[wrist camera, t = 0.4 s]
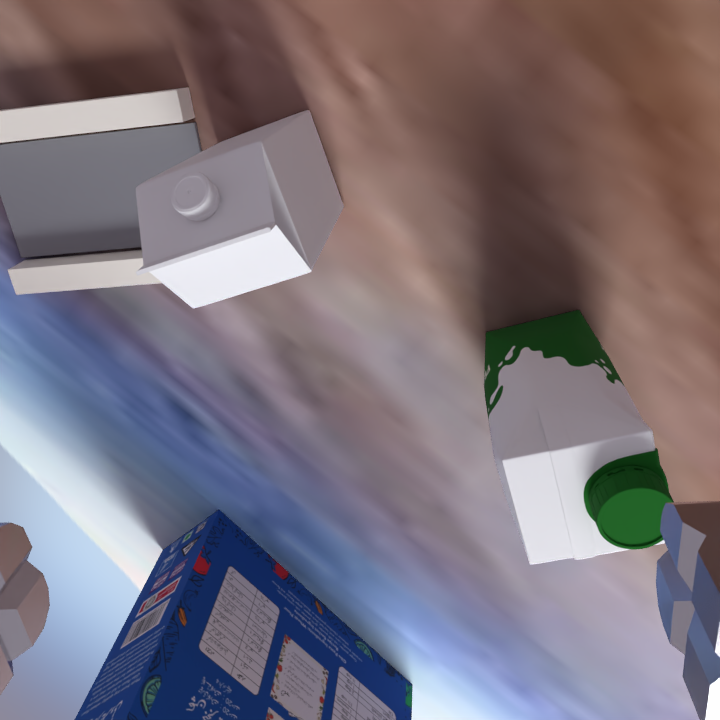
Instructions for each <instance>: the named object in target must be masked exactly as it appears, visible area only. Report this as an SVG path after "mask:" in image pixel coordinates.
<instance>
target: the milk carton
mask: <svg viewBox="0 0 720 720" xmlns="http://www.w3.org/2000/svg"><path fill="white" fill-rule="evenodd" d="M136 198H137V208H138V218H139V227H140V237H141V246H142V256H143V265H144V266H142V267H141V268H140V269H139V270H138V271H136V274H137V275H141V274H144V273H147V272H150V273H151V274H152V275H154V276H155V277H156V278H157V279H158V280H160V281H161V282H162V283H163V284H164V285H166V286H167V287H168V288H169V289H170V290H172V291H173V292H174V293H175V294H176V295H178V296H179V297H180V298H181V299H182V300H183V301H185V302H186V303H187V304H188V305H189V306H191V307H192V308H197V307H201V306H204V305H207V304H211V303H214V302H217V301H220V300H224V299H227V298H230V297H233V296H236V295H240V294H243V293H246V292H249V291H252V290H256V289H259V288H262V287H265V286H268V285H272V284H275V283H278V282H281V281H284V280H288V279H291V278H294V277H297V276H300V275H303V274H306V273H309V272H311V271H312V269H313V267H314V265H315V263H316V261H317V259H318V257H319V255H320V253H321V251H322V249H323V247H324V245H325V243H326V241H327V239H328V237H329V235H330V233H331V231H332V229H333V227H334V225H335V223H336V221H337V219H338V217H339V215H340V213H341V211H342V210H343V208H344V205H343V202H342V200H341V197H340V194H339V191H338V188H337V186H336V183H335V180H334V177H333V174H332V172H331V169H330V166H329V163H328V160H327V158H326V155H325V152H324V149H323V146H322V144H321V141H320V138H319V135H318V132H317V130H316V127H315V124H314V121H313V118H312V116H311V113H310V111H309V110H306V111H303V112H300V113H297V114H294V115H292V116H289V117H286V118H283V119H281V120H278V121H275V122H273V123H270V124H267V125H265V126H262V127H259V128H256V129H254V130H251V131H248V132H246V133H243V134H240V135H238V136H235V137H232V138H230V139H227V140H224V141H222V142H220V143H217V144H216V145H214V146H212V147H210V148H208V149H206V150H204V151H202V152H200V153H198V154H196V155H194V156H193V157H191V158H189V159H187V160H185V161H183V162H181V163H179V164H177V165H175V166H173V167H171V168H169V169H168V170H166V171H164V172H162V173H160V174H158V175H156V176H154V177H152V178H150V179H148V180H147V181H145V182H143V183H141V184H140V185H138V186H137V187H136Z"/></svg>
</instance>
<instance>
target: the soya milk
mask: <svg viewBox="0 0 720 720" xmlns="http://www.w3.org/2000/svg"><path fill="white" fill-rule="evenodd" d="M484 389H485V398H486V406H487V413H488V420H489V427H490V433H491V440H492V447H493V454H494V459H495V463H496V466H497V469H498V473H499V476H500V479H501V483H502V486H503V490H504V494H505V497H506V499H507V502H508V505H509V508H510V510H511V513H512V516H513V519H514V521H515V524H516V527H517V530H518V532H519V535H520V538H521V541H522V544H523V546H524V549H525V552H526V555H527V557H528V560H529V563H530V565H532V564H538V563H544V562H550V561H556V560H562V559H568V558H574V559H575V560H579V559H585V558H591V557H594V556H596V555H602V554H607V553H613V552H619V551H624V550H630V549H643V548H647V547H650V546H653V545H658V544H663V543H665V541H664V539H663V537H662V535H661V532H660V525H661V516H662V511H663V509H664V506H665V503H674V502H673V500H672V498H671V496H670V493H669V489H668V483H667V479H666V476H665V474H664V471H663V469H662V467H661V466H660V462H659V456H658V450H657V448H655V445H654V438H653V431H652V429H651V428H650V427H649V426H648V425H647V424H646V423H645V422H644V421H643V419H642V418H641V416H640V414H639V412H638V410H637V408H636V407H635V405H634V403H633V401H632V399H631V397H630V395H629V394H628V392H627V390H626V388H625V386H624V384H623V383H622V381H621V379H620V377H619V375H618V373H617V372H616V370H615V368H614V366H613V364H612V362H611V361H610V359H609V357H608V355H607V354H606V352H605V350H604V349H603V347H602V345H601V344H600V342H599V341H598V339H597V338H596V336H595V334H594V333H593V331H592V330H591V328H590V327H589V325H588V323H587V322H586V320H585V319H584V317H583V316H582V314H581V312H580V311H579V310H576V311H572V312H568V313H564V314H560V315H555V316H551V317H547V318H543V319H539V320H535V321H531V322H527V323H522V324H518V325H514V326H510V327H506V328H502V329H498V330H494V331H489V332H486V346H485V374H484Z"/></svg>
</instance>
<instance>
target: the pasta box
mask: <svg viewBox="0 0 720 720" xmlns="http://www.w3.org/2000/svg"><path fill="white" fill-rule="evenodd" d="M411 713H412V684H411V683H410V682H409V681H407V680H406V679H405V678H404V677H403V676H402V675H401V674H400V673H399V672H398V671H396V670H395V669H394V668H393V667H392V666H391V665H390V664H389V663H388V662H387V661H385V660H384V659H383V658H382V657H381V656H380V655H379V654H378V653H377V652H376V651H374V650H373V649H372V648H371V647H370V646H369V645H368V644H367V643H366V642H365V641H363V640H362V639H361V638H360V637H359V636H358V635H357V634H356V633H355V632H353V631H352V630H351V629H350V628H349V627H348V626H347V625H346V624H345V623H344V622H342V621H341V620H340V619H339V618H338V617H337V616H336V615H335V614H334V613H333V612H331V611H330V610H329V609H328V608H327V607H326V606H325V605H324V604H323V603H322V602H320V601H319V600H318V599H317V598H316V597H315V596H314V595H313V594H312V593H311V592H309V591H308V590H307V589H306V588H305V587H304V586H303V585H302V584H301V583H299V582H298V581H297V580H296V579H295V578H294V577H293V576H292V575H291V574H290V573H288V572H287V571H286V570H285V569H284V568H283V567H282V566H281V565H280V564H279V563H277V562H276V561H275V560H274V559H273V558H272V557H271V556H270V555H269V554H268V553H266V552H265V551H264V550H263V549H262V548H261V547H260V546H259V545H258V544H257V543H255V542H254V541H253V540H252V539H251V538H250V537H249V536H248V535H247V534H245V533H244V532H243V531H242V530H241V529H240V528H239V527H238V526H237V525H236V524H234V523H233V522H232V521H231V520H230V519H229V518H228V517H227V516H226V515H225V514H223V513H222V512H221V511H220V510H218V511H217V512H215V513H214V514H212V515H211V516H210V517H208V518H207V519H205V520H204V521H203V522H201V523H200V524H198V525H197V526H196V527H194V528H193V529H191V530H190V531H189V532H187V533H186V534H184V535H183V536H182V537H180V538H179V539H178V540H176V541H175V542H173V543H172V544H171V545H169V546H168V547H166V548H165V549H164V550H163V551H162V553H161V555H160V556H159V558H158V560H157V562H156V564H155V566H154V568H153V570H152V572H151V574H150V576H149V578H148V580H147V582H146V583H145V585H144V587H143V589H142V591H141V593H140V595H139V597H138V599H137V601H136V603H135V605H134V607H133V608H132V611H131V613H130V614H129V616H128V618H127V620H126V622H125V624H124V626H123V628H122V630H121V632H120V634H119V636H118V637H117V639H116V641H115V643H114V645H113V647H112V649H111V651H110V653H109V655H108V657H107V659H106V661H105V662H104V664H103V666H102V668H101V670H100V672H99V674H98V676H97V678H96V680H95V682H94V684H93V685H92V688H91V689H90V691H89V693H88V695H87V697H86V699H85V701H84V703H83V705H82V707H81V709H80V711H79V712H78V715H77V716H76V718H75V720H411Z"/></svg>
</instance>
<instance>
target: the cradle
mask: <svg viewBox="0 0 720 720" xmlns="http://www.w3.org/2000/svg"><path fill="white" fill-rule="evenodd" d="M193 118H195V115H194V110H193V105H192V100H191V95H190V90H189V87H187V88H178V89H170V90H162V91H153V92H145V93H137V94H128V95H120V96H112V97H104V98H95V99H87V100H79V101H70V102H62V103H54V104H45V105H37V106H29V107H21V108H12V109H4V110H0V143H3V142H12V141H21V140H29V139H38V138H47V137H56V136H65V135H73V134H82V133H91V132H100V131H109V130H118V129H126V128H135V127H144V126H153V125H162V124H170V123H179V122H185V121H188V120H190V119H193ZM200 152H202V149H201V144H200V139H199V134H198V129H197V125H196V122H194V123H185V124H176V125H167V126H158V127H149V128H140V129H132V130H123V131H114V132H105V133H96V134H87V135H79V136H70V137H61V138H52V139H43V140H34V141H25V142H17V143H8V144H0V195H1V198H2V201H3V204H4V207H5V210H6V213H7V216H8V219H9V222H10V225H11V228H12V231H13V234H14V237H15V240H16V243H17V246H18V249H19V252H20V255H21V258H23V257H35V256H46V255H57V254H69V253H80V252H91V251H103V250H114V249H125V248H137V247H142V246H141V237H140V227H139V218H138V208H137V198H136V187H137V186H138V185H140V184H141V183H143V182H145V181H147V180H148V179H150V178H152V177H154V176H156V175H158V174H160V173H162V172H164V171H166V170H168V169H169V168H171V167H173V166H175V165H177V164H179V163H181V162H183V161H185V160H187V159H189V158H191V157H193V156H194V155H196V154H198V153H200ZM142 266H144V265H143V256H142V250H132V251H120V252H109V253H97V254H86V255H75V256H63V257H52V258H41V259H29V260H24V261H22V262H21V263H19V264H17V265H15V266H13V267H12V268H10V269H8V272H9V275H10V278H11V281H12V284H13V287H14V290H15V293H16V295H19V294H32V293H44V292H56V291H69V290H81V289H94V288H106V287H119V286H131V285H143V284H156V283H162V282H161V281H160V280H158V279H157V278H156V277H155V276H154V275H152V274H151V273H150V272H147V273H144V274H141V275H137V274H136V271H138V270H139V269H140V268H141V267H142Z"/></svg>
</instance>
